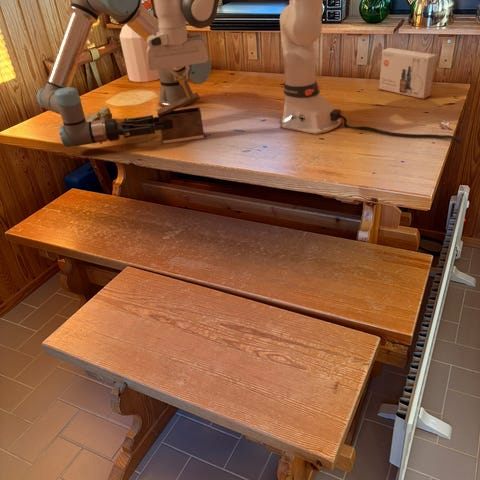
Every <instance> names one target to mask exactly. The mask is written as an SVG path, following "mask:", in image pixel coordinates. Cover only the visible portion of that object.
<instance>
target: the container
mask: <svg viewBox="0 0 480 480" xmlns="http://www.w3.org/2000/svg"><path fill="white" fill-rule="evenodd" d="M119 41H120V45H121V49H122V54H123V59H124V63H125V68H126V72H127V77H128V80H129V81H130V82H134V83H144V82H152V81H157V80H160V78H159V73H158V69H157V70H150V69H149V68H148V63H147V48H148V44H147V42H146V41H145V40H144V39H143V38H142V37H140V36H139V35H138V34H137V33H136V32H135V31H133V30H132V29H131V28H130V27H129V26H128V25H127V24H125V25H122V28H121V31H120V33H119Z"/></svg>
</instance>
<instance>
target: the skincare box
mask: <svg viewBox="0 0 480 480" xmlns="http://www.w3.org/2000/svg"><path fill="white" fill-rule="evenodd" d="M436 57H437V54H435V53H427V52H423V51H422V52H420V51H413V50H407V49H400V48H395V47H394V48H393V47H387V48H385V49H382V50H381V61H380V74H379V86H378V87H379V88H378V89H379V90H383V91H387V92H391V93H395V94H399V95H405V96H409V97H414V98H418V99H422V100H424V99H426V98H428V97H430V96H431V91H432V86H433V85H432V84H433V78H434V73H435V72H434V71H435V70H434V69H435V64H436Z"/></svg>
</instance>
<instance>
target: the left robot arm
mask: <svg viewBox="0 0 480 480" xmlns="http://www.w3.org/2000/svg"><path fill="white" fill-rule="evenodd" d="M69 11H70V16H69V18H68V20H67V24H66V27H65V30H64V32H63V34H62V35H63V36H62V38H61V42H60V44H59V46H58V50H57V52H56V55H55V58H54V60H53V64H52V66H51V68H50V72H49V75H48V77H47V81H46V83H45V85H44V87H42V88H40V89H39V90H37V93H36V101H37V103H38V105H39V106H40V107H42V108H43V109H45V110H46V111H48V112H52V113H55V114H58V115H60V117H61V120H62V123H63V124H62V125H60V126H59V128H58V133H59V138H60V141H61V143H62V145H63V146H64V147H68V148H69V147H81V146H86V145H92V144H93V145H94V144H100V145H102V144H103V143H106V142H108V141H109V142H116V141H119V140H120V138H121V136H123V138H124V139H129V138H133V137H139V136H146V135H155V134H156V131H161V130H165V129H172V128H173V123H172V120H170V121H163V122H159V118H158V116H154V115H153V114H150V115H145V116H138V117H130V118H126V117H125V118H124V119H123V120H122V121H121V122H118V121H117V119H116V118H112V119H106V120H105V121H103V120H98V121H92V122H87V120H86V115H85V112H84V108H83V105H82V99H81V97H80V95H79V92H78V91H79V90H78V89H77V88H76V87H73V86H71V85H72V82H73V79H74V77H75V74H76V71H77V68H78V66H79V63H80V61H81V58H82V55H83V52H84V49H85V47H86V44H87V41H88V38H89V36H90V33H91V31H92V27H93V25H94V24H96V23H98V21H99V17H100V16H101V15H102V14H106V15H108V16H109V17H110V18H112V19H113V20H114V21H115V22H116V23H117V24H119V25H120V26H124V25H125V24H127V25H128V26H129V27H130V28H131V29H132V30H133V31H135V32H136V33H137V34H138V35H139V36H140V37H142V38H143V39H144V40H145V41H146V42H147V38H148V37H149V36H151V35H153V34H155V33H157V32H159V28H158V24H159V21H158V17H155V15H154V14H153V13H151V12H150V11H149V10H148V9H147V8H146V7H145V6H144V5H143V4H142V0H71V3H70V6H69ZM189 67H190V69H189V71H188V74H187V75H188V79H184V81H185V86H186V89H187V91H188V93H189V95H192V94H194V93H193V91H192V89H191V86H190V84H193V85H201V84H204V83H205V82H206V81H207V80H208V79H209V77H210V75H211V72H212V62H211V59H210V57H209V56H208V61H207V62H206V63H199V64H192V65H189ZM185 71H186V68H185V66H178V67H173V72H174V73H175V74H178V79H179V77H181V76H182V77H183V73H185ZM158 73H159V78H160V79H159V84H160V91H159V99H158V101H159V105H160V106H161V107H162V108H163V107H165V106H167V105H170V104H172V103H174V102H176V101H179V100H181V99H183V98H185V97H187V95H186V93H185V90H184V88H183V86H182V85H180V84H179V80H176V81H174V76H173V75H172V74H171V72H170V71H169V68H164V69H158ZM189 83H190V84H189ZM190 104H193V102H191V103H189V104H187V105H184V106H183V107H185V106H188V105H190Z"/></svg>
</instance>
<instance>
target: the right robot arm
mask: <svg viewBox="0 0 480 480" xmlns="http://www.w3.org/2000/svg"><path fill="white" fill-rule="evenodd" d="M219 2H220V0H153V4H154V5H153V6H154V12H155V15H156V16H157V17H156V18H157V19H158V21H159V24H158V28H159V32H157V33H155V34H153V35H151V36H149V37H148V38H147V44H148V48H147V63H148V68H149V69H150V70H157V69H164V68H169V71H170V72H171V74H172V75H173V76H174V81H176V80H179V79H178V74H175V73H174V72H173V67H178V66H185V68H186V71H185V73H183V78H184V79H188V75H187V74H188V71H189V69H190V67H189V65H192V64H199V63H206V62H207V61H208V57H209V54H208V50H207V47H206V46H207V45H208V38H207V36H206V34H204V33H202V32H197V33H188V30H187V23H188V24H189V26H191V27H193V28H196V29H205V28H207V27H209V26H210V25H212V24H213V23H214V22H215V19H216V17H217V15H218V14H217V13H218V8H219ZM323 2H324V0H289V3H288V4H287V5H286V6H284V7H283V9H282V11H281V12H280V15H279V27H280V38H281V39H280V40H281V48H282V55H283V67H284V68H283V70H284V82H283V89H282V90H283V94H284V103H283V111H282V116H281V120H280V121H281V128H282V129H288V130H292V131H298V132H303V133H309V134H313V135H314V134H315V135H319V134H324V133H328V132H331V131H332V130H335V129H337V128H338V127H339V126H340V125H341V124H342V120H343V126H344V127H345V128H347V129H354V130H368V131H372V132H375V133H378V134H379V133H380V134H382V135H390V136H395V137H405V138H406V137H407V138H434V139H450V140H453V141H454V142H456V143H457V144H461V141H460V139H458V138H457V137H456V136H454V135H449V134H446V135H445V134H431V133H430V134H428V133H427V134H426V133H424V134H422V133H421V134H417V133H416V134H415V133H401V132H391V131H387V130H381V129H378V128H375V127H371V126H367V125H365V126H364V125H362V126H351V125H348V124H347V122H348V120H347V118H346V117H345V116H344V115H342V113H341V111H342V110H341V109H339V108H334V106H333V105H332V104H331V103H330V102H329V101H328V100H327V99H326V98H325V97H324V96H323V95H322V94H321V93H320V90H321V89H322V86H323V85H322V84H320V85H319V84H318V81H317V57H316V52H315V46H314V45H315V44H314V43H315V42H317V40H319V38H320V36H321V34H322V32H323V31H322V30H323V23H322V20H323V19H322V17H323V5H324V3H323ZM341 119H342V120H341ZM455 207H456V202H452V204H451V207H450V214H449V218H453V217H454V211H455Z"/></svg>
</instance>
